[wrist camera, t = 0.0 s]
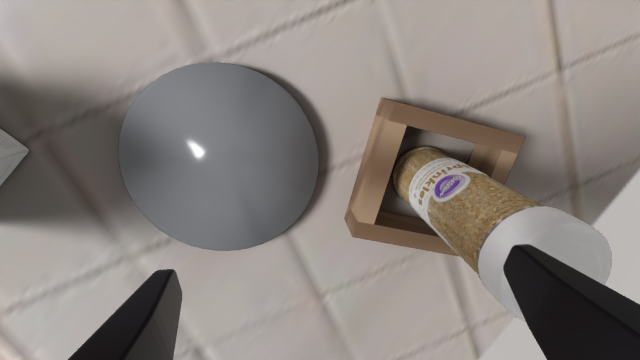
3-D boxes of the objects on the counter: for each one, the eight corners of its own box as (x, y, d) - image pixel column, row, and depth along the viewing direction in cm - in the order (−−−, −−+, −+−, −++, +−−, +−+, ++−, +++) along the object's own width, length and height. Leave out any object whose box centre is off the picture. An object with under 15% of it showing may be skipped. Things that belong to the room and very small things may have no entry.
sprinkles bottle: (415, 133, 24) (567, 203, 11) (459, 165, 25) (641, 259, 13) (378, 184, 25) (481, 301, 12) (423, 212, 26) (558, 345, 13)
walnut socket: (451, 239, 27) (471, 258, 24) (344, 218, 25) (352, 236, 23) (496, 129, 25) (525, 136, 22) (381, 97, 23) (395, 101, 20)
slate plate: (246, 273, 26) (245, 280, 25) (87, 177, 22) (78, 182, 21) (353, 146, 24) (356, 149, 23) (196, 16, 20) (192, 14, 19)
